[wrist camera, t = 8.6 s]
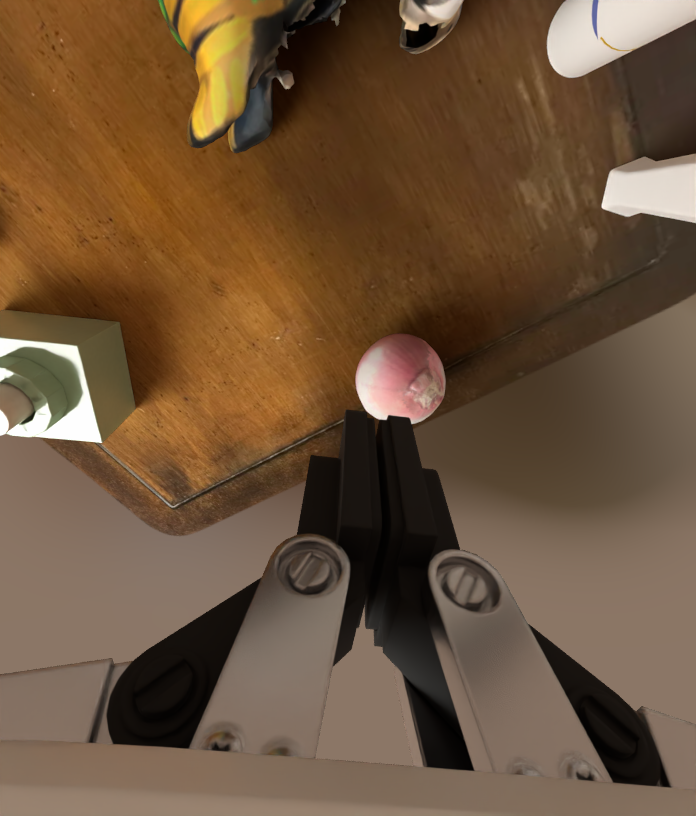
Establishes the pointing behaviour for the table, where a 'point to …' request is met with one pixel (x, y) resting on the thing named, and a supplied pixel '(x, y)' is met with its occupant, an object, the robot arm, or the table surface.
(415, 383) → the onion
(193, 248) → the table surface
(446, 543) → the robot arm
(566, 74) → the tube
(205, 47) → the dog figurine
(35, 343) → the green button housing
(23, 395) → the beige push button
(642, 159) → the white faceted vase
